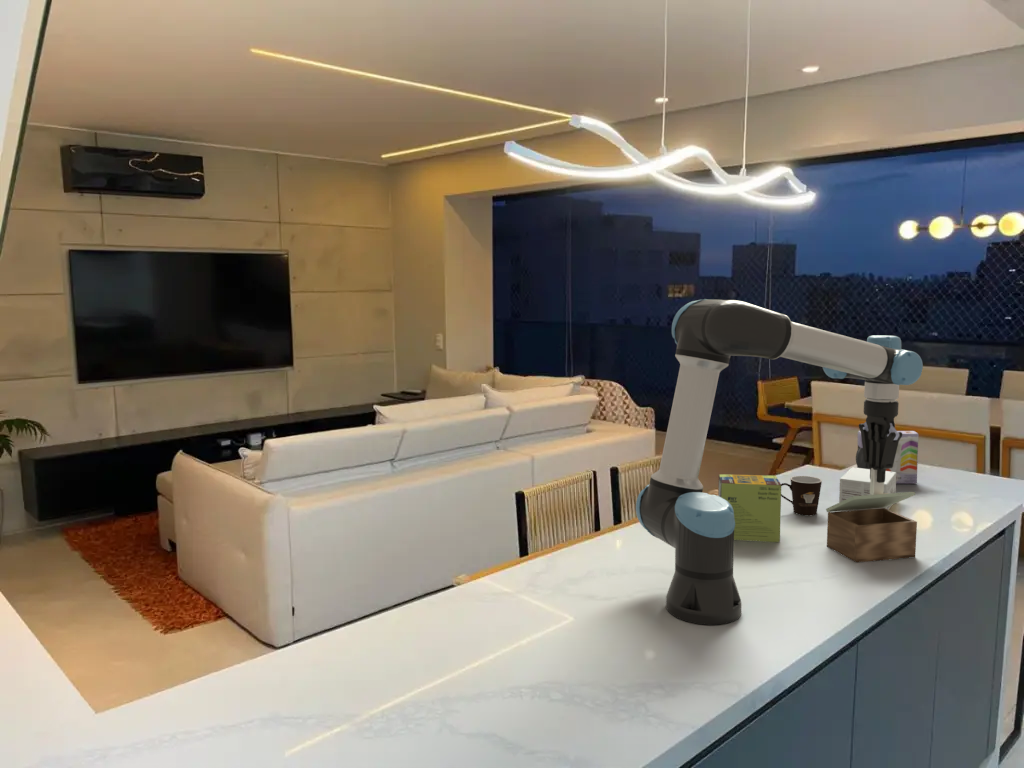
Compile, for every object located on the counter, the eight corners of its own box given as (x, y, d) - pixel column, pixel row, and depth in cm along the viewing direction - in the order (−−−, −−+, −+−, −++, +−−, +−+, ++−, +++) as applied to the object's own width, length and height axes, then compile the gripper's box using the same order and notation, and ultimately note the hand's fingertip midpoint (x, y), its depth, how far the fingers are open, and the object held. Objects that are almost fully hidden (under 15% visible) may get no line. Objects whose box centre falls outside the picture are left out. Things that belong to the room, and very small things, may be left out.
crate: (856, 562, 179) (857, 526, 178) (826, 546, 191) (827, 512, 190) (915, 557, 182) (917, 521, 181) (882, 541, 194) (884, 508, 193)
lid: (853, 499, 179) (852, 495, 179) (826, 511, 190) (825, 508, 190) (915, 494, 182) (914, 491, 182) (885, 507, 193) (884, 504, 193)
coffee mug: (823, 510, 222) (824, 478, 220) (817, 518, 214) (818, 484, 213) (782, 505, 228) (783, 473, 227) (776, 512, 221) (776, 479, 219)
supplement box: (850, 495, 239) (851, 466, 237) (895, 501, 231) (897, 471, 230) (837, 508, 225) (839, 477, 224) (886, 514, 217) (887, 483, 216)
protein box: (780, 542, 195) (782, 484, 193) (719, 540, 198) (720, 482, 196) (775, 530, 205) (776, 475, 203) (717, 527, 208) (717, 473, 206)
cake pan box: (856, 483, 252) (858, 432, 250) (852, 480, 257) (854, 429, 255) (917, 485, 249) (920, 433, 246) (912, 481, 254) (914, 430, 251)
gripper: (914, 402, 174) (908, 500, 178) (877, 394, 187) (872, 486, 190) (885, 404, 173) (880, 502, 176) (850, 396, 186) (846, 488, 189)
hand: (876, 494), depth 183 cm, fingers closed
